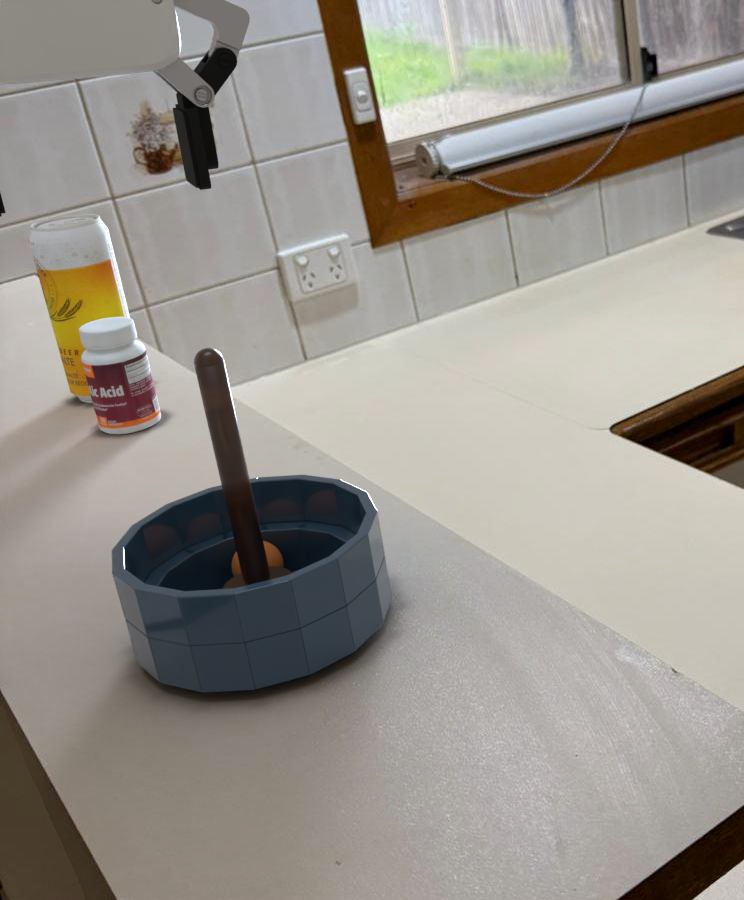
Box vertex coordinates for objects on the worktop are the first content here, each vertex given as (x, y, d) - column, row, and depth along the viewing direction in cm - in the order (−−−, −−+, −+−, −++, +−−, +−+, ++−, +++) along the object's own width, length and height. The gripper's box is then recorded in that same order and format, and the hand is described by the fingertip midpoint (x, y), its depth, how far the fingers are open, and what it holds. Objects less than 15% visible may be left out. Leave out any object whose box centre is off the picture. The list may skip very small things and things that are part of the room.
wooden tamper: (213, 628, 61) (148, 358, 55) (261, 592, 64) (203, 333, 58) (269, 640, 59) (208, 364, 53) (315, 603, 62) (262, 339, 56)
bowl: (98, 709, 56) (66, 604, 53) (189, 573, 68) (166, 482, 65) (365, 694, 55) (345, 587, 53) (409, 560, 67) (394, 468, 65)
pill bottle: (86, 433, 90) (59, 332, 87) (128, 411, 94) (103, 313, 91) (134, 437, 89) (108, 335, 85) (174, 414, 93) (151, 315, 89)
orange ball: (225, 580, 65) (223, 537, 63) (274, 569, 66) (272, 527, 65) (242, 605, 63) (240, 561, 61) (291, 592, 64) (290, 550, 63)
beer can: (70, 390, 100) (23, 220, 94) (142, 375, 103) (101, 209, 97) (75, 410, 95) (26, 233, 89) (151, 394, 98) (108, 220, 92)
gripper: (198, -179, 57) (255, 167, 64) (-208, -180, 50) (-93, 211, 57) (231, -198, 51) (291, 186, 58) (-225, -202, 44) (-94, 239, 51)
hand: (101, 198), depth 57 cm, fingers open, 9 cm apart
